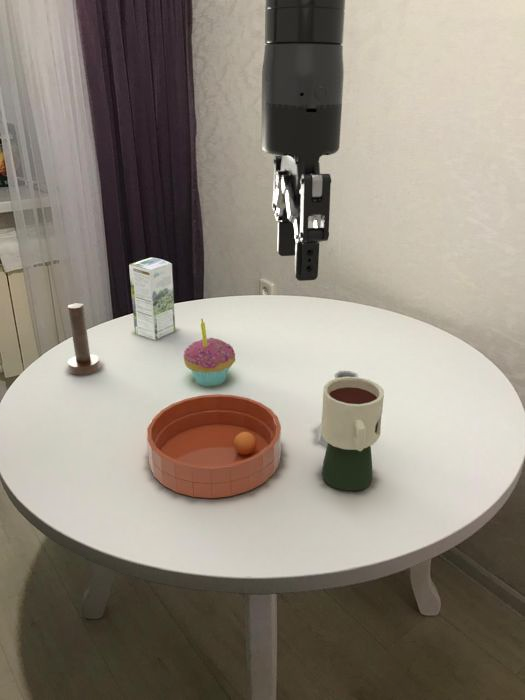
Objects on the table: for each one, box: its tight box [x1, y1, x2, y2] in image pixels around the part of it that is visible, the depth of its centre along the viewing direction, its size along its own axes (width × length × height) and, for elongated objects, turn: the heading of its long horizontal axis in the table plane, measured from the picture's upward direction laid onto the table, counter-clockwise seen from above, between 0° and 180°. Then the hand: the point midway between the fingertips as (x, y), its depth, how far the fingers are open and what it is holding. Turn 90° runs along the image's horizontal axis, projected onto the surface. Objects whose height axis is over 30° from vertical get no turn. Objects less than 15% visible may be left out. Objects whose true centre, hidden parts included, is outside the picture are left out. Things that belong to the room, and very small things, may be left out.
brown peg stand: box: [67, 302, 101, 377], centre depth 99 cm, size 5×5×12 cm
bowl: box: [146, 393, 282, 499], centre depth 77 cm, size 17×17×5 cm
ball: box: [234, 432, 256, 455], centre depth 78 cm, size 3×3×3 cm
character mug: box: [321, 376, 385, 491], centre depth 72 cm, size 11×7×13 cm, turn 4°
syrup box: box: [128, 257, 176, 341], centre depth 112 cm, size 6×6×14 cm
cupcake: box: [183, 317, 236, 387], centre depth 96 cm, size 9×8×12 cm
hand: (296, 266), depth 62 cm, fingers open, 8 cm apart
